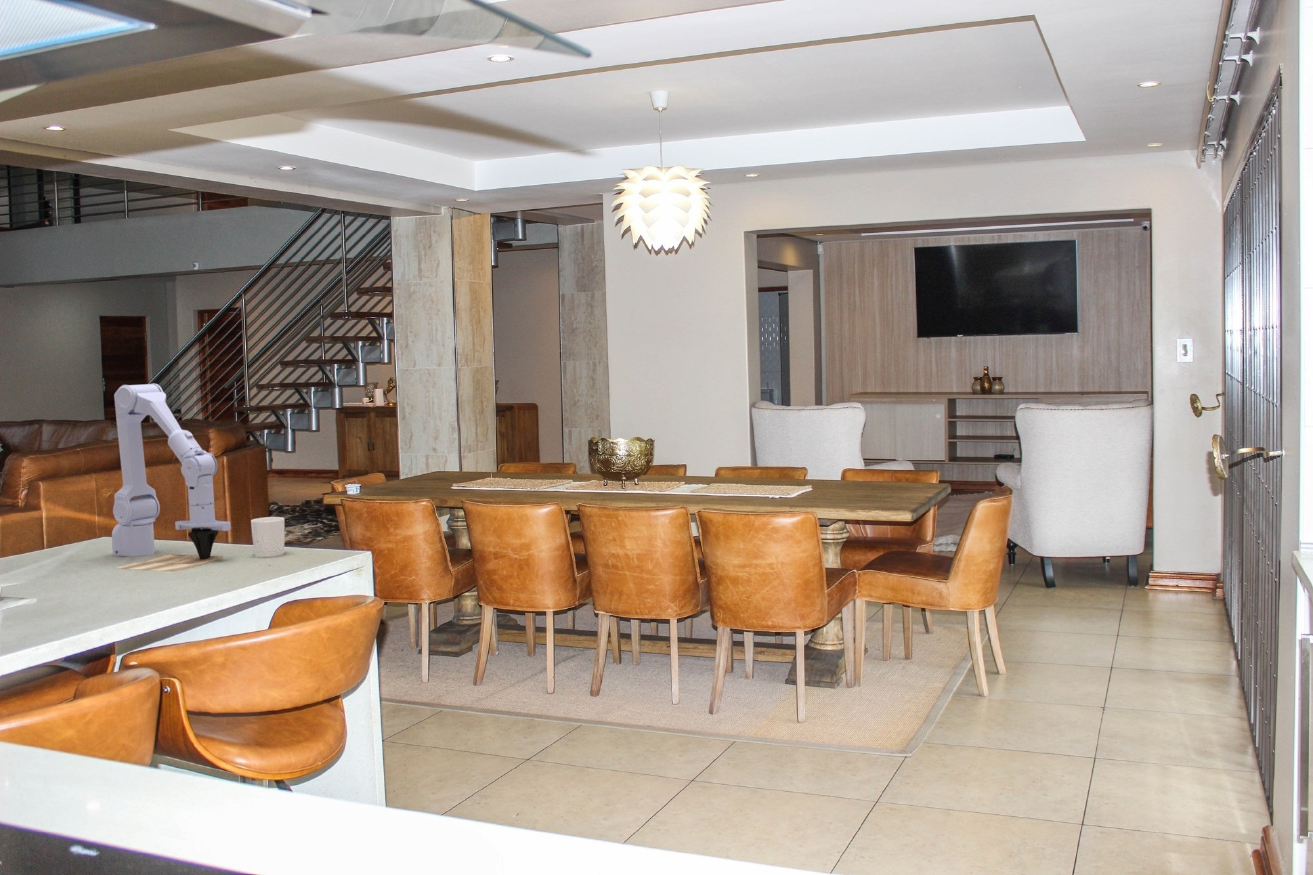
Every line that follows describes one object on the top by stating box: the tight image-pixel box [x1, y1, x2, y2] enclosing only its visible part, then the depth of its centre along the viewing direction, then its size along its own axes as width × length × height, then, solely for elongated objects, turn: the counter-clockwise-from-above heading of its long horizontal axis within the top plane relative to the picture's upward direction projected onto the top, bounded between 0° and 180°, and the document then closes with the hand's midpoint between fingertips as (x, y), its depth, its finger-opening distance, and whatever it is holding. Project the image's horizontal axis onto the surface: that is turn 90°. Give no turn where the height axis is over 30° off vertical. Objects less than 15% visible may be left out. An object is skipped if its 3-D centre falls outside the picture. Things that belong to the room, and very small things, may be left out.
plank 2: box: [174, 554, 224, 566], centre depth 276 cm, size 8×8×1 cm
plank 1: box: [143, 553, 195, 563], centre depth 278 cm, size 8×8×1 cm
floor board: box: [115, 561, 201, 573], centre depth 269 cm, size 18×8×1 cm, turn 73°
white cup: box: [250, 516, 286, 558], centre depth 282 cm, size 8×8×10 cm
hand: (204, 559), depth 277 cm, fingers closed, pressing on plank 2
